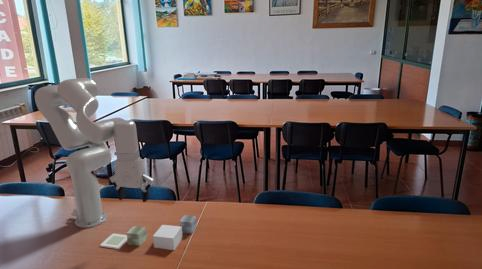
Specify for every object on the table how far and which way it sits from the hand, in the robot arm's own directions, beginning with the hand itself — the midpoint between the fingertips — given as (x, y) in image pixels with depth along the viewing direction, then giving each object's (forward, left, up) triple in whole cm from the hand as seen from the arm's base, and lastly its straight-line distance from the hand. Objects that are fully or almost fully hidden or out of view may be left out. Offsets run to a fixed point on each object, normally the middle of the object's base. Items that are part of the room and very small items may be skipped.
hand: (134, 199), depth 121 cm
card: (-8, -2, -17) cm, 19 cm away
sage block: (0, 0, -18) cm, 18 cm away
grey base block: (+12, +2, -18) cm, 21 cm away
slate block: (+16, +12, -18) cm, 26 cm away
